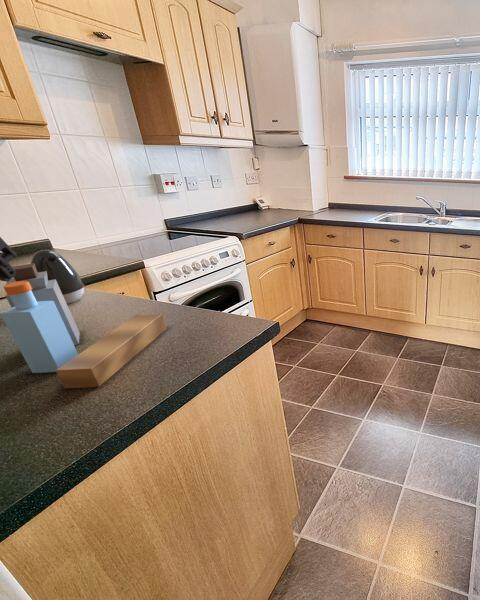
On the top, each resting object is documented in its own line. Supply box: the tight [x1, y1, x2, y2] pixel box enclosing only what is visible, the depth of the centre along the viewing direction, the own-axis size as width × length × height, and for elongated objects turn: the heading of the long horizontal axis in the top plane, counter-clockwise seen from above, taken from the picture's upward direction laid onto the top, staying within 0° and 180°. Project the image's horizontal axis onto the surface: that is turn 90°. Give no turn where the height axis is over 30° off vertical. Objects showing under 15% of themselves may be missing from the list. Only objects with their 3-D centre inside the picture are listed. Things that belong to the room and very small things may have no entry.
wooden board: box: [55, 313, 168, 389], centre depth 70 cm, size 22×6×4 cm, turn 4°
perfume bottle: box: [5, 263, 81, 346], centre depth 72 cm, size 7×7×18 cm
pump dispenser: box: [30, 249, 85, 305], centre depth 93 cm, size 10×10×15 cm
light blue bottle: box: [0, 281, 79, 374], centre depth 64 cm, size 18×5×5 cm
